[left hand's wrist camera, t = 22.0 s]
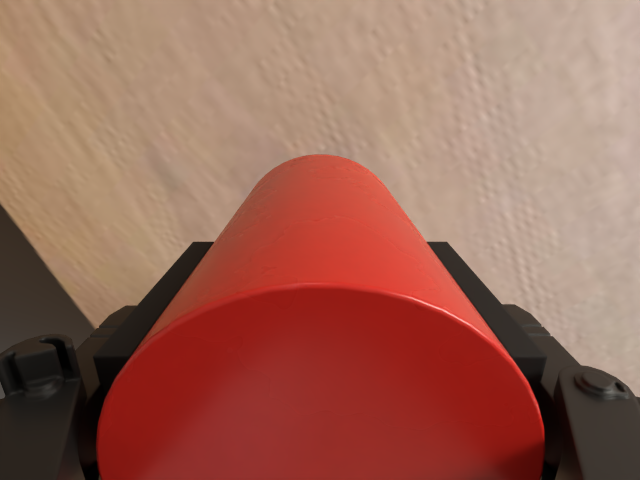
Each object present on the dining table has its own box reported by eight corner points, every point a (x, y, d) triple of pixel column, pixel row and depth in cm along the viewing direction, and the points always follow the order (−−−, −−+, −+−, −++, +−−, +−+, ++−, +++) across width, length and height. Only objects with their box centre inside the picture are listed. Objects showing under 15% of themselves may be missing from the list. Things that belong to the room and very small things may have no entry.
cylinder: (267, 129, 17) (135, 208, 5) (426, 187, 18) (645, 371, 6) (223, 277, 19) (68, 566, 7) (364, 321, 20) (426, 639, 8)
